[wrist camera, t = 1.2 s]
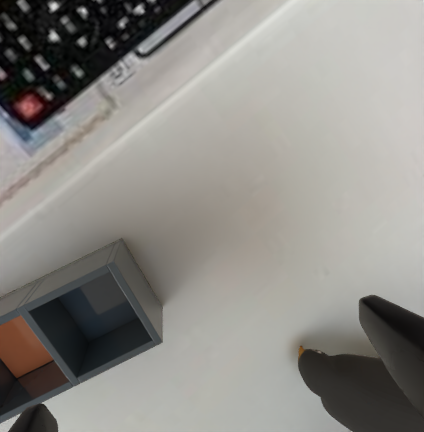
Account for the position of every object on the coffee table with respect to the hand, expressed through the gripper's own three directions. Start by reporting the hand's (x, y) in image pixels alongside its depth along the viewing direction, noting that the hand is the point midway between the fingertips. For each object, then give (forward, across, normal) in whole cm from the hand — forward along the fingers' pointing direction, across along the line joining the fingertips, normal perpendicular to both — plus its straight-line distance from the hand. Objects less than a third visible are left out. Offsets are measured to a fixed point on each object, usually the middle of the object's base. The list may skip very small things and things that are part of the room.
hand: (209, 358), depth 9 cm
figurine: (+10, -11, +19) cm, 24 cm away
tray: (+13, +12, +7) cm, 18 cm away
